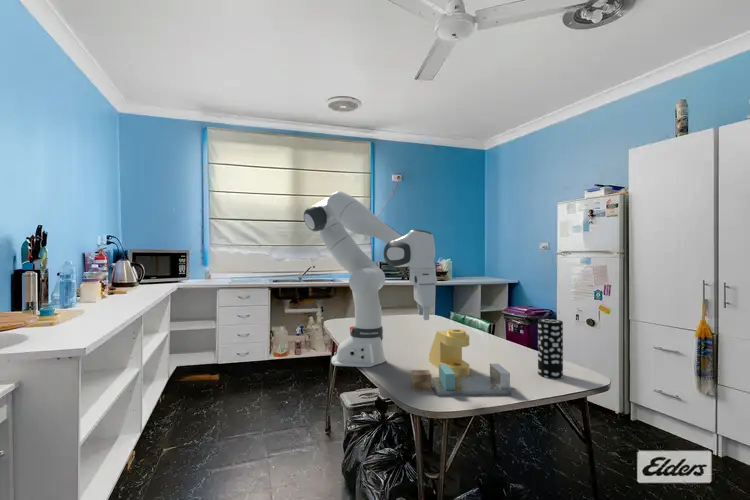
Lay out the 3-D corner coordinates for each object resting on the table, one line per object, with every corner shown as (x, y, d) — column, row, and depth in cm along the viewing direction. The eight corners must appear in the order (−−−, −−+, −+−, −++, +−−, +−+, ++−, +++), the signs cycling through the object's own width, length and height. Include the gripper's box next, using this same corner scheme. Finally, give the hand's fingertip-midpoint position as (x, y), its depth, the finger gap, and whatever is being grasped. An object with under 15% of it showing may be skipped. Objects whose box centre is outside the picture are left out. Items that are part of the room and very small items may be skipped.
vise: (437, 396, 118) (437, 375, 118) (429, 381, 131) (429, 363, 131) (511, 394, 119) (511, 374, 119) (496, 380, 132) (496, 362, 132)
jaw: (445, 389, 119) (445, 374, 119) (438, 378, 129) (438, 364, 129) (454, 389, 119) (454, 374, 119) (447, 378, 129) (447, 364, 129)
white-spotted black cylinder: (543, 369, 143) (543, 318, 143) (566, 374, 137) (566, 320, 137) (534, 374, 137) (534, 321, 137) (558, 380, 132) (557, 324, 132)
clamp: (474, 376, 136) (474, 332, 136) (451, 378, 134) (451, 334, 134) (449, 360, 156) (449, 322, 156) (429, 362, 153) (428, 323, 153)
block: (413, 391, 122) (413, 374, 122) (411, 386, 127) (411, 370, 127) (431, 391, 122) (431, 374, 122) (428, 386, 127) (428, 370, 127)
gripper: (409, 275, 137) (410, 312, 137) (418, 279, 116) (419, 323, 116) (426, 274, 137) (427, 312, 137) (438, 278, 117) (439, 322, 117)
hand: (423, 317), depth 126 cm, fingers open, 8 cm apart
